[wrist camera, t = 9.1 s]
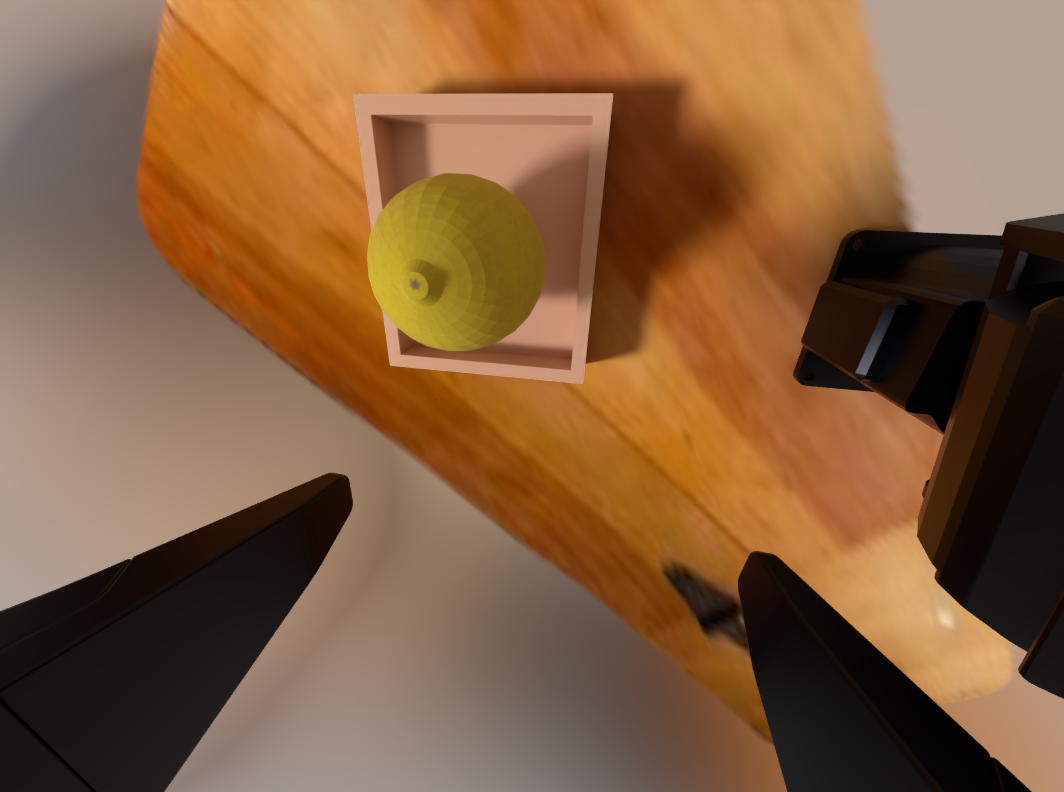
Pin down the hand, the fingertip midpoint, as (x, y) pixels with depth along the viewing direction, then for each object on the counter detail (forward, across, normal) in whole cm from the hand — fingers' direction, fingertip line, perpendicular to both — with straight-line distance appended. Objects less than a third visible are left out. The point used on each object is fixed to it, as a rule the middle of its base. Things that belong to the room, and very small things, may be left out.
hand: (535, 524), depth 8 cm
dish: (+12, +4, -4) cm, 13 cm away
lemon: (+11, +4, -4) cm, 12 cm away
